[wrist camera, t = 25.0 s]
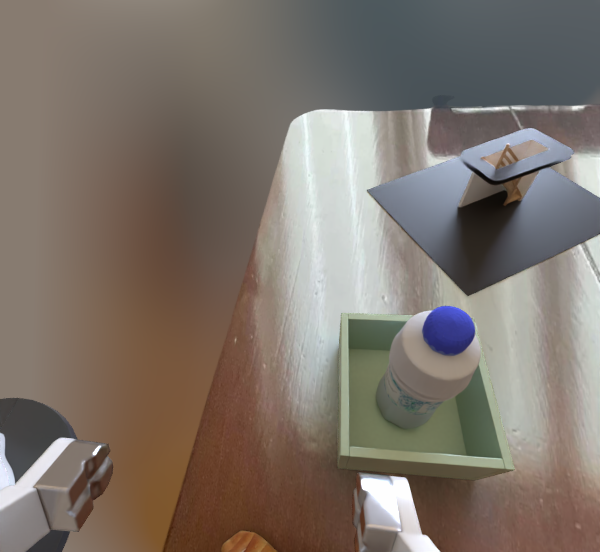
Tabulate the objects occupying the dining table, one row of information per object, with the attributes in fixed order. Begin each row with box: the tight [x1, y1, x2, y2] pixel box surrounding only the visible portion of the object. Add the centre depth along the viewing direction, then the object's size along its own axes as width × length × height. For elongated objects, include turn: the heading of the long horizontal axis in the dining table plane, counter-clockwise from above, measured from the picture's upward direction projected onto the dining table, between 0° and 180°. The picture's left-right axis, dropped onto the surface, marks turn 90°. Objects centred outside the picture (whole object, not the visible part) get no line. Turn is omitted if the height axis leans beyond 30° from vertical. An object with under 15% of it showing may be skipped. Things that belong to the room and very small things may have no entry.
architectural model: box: [367, 128, 600, 296], centre depth 54 cm, size 35×28×14 cm
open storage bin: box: [337, 313, 515, 480], centre depth 36 cm, size 15×15×9 cm
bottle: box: [376, 306, 481, 429], centre depth 30 cm, size 7×7×20 cm
